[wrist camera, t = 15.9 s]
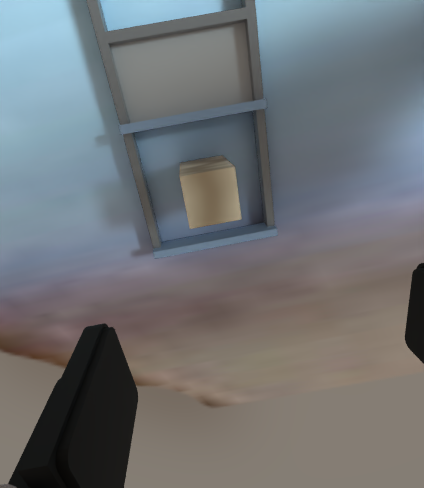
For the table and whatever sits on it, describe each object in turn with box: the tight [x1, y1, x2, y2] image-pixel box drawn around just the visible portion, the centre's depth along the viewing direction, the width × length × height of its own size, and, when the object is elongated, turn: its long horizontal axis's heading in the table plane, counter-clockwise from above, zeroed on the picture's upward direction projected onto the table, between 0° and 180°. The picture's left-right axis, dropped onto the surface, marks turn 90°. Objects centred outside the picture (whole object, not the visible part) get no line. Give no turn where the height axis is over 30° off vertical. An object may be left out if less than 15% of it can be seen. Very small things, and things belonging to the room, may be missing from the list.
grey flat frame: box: [87, 0, 278, 259], centre depth 27 cm, size 14×34×2 cm, turn 9°
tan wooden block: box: [179, 155, 241, 229], centre depth 28 cm, size 4×4×8 cm
